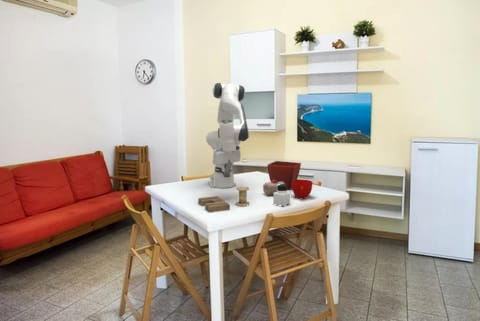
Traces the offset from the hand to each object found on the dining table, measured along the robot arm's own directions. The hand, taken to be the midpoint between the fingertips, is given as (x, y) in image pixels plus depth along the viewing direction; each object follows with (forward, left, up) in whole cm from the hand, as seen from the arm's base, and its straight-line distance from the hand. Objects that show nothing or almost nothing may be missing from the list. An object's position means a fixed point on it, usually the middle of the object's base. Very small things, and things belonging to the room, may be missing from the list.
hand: (226, 170), depth 218 cm
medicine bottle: (+19, +27, -19) cm, 38 cm away
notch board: (+7, -11, -19) cm, 23 cm away
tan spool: (+10, +6, -19) cm, 22 cm away
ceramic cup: (+11, +46, -19) cm, 51 cm away
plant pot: (-19, +51, -19) cm, 57 cm away
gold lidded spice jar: (0, 0, -4) cm, 4 cm away
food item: (-3, +34, -19) cm, 39 cm away
